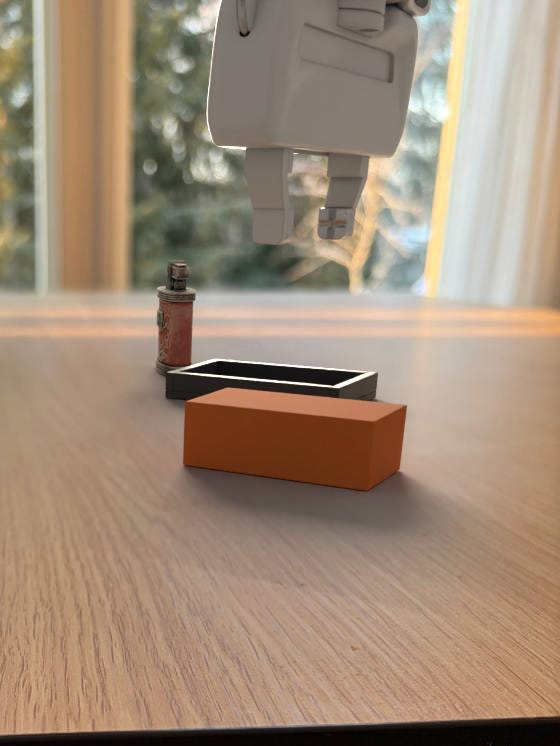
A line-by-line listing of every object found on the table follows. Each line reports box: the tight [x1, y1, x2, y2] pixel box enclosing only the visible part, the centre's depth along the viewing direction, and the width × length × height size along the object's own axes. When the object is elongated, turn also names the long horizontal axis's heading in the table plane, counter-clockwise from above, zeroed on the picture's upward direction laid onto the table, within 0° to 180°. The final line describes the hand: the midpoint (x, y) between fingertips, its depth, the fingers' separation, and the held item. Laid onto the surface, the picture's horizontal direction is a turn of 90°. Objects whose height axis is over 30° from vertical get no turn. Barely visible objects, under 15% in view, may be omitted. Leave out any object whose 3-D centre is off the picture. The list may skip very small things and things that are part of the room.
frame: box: [164, 358, 379, 401], centre depth 88 cm, size 15×9×2 cm, turn 57°
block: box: [182, 388, 408, 492], centre depth 65 cm, size 12×6×4 cm, turn 57°
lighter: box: [155, 260, 197, 376], centre depth 100 cm, size 8×3×10 cm, turn 4°
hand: (305, 241), depth 61 cm, fingers open, 8 cm apart
